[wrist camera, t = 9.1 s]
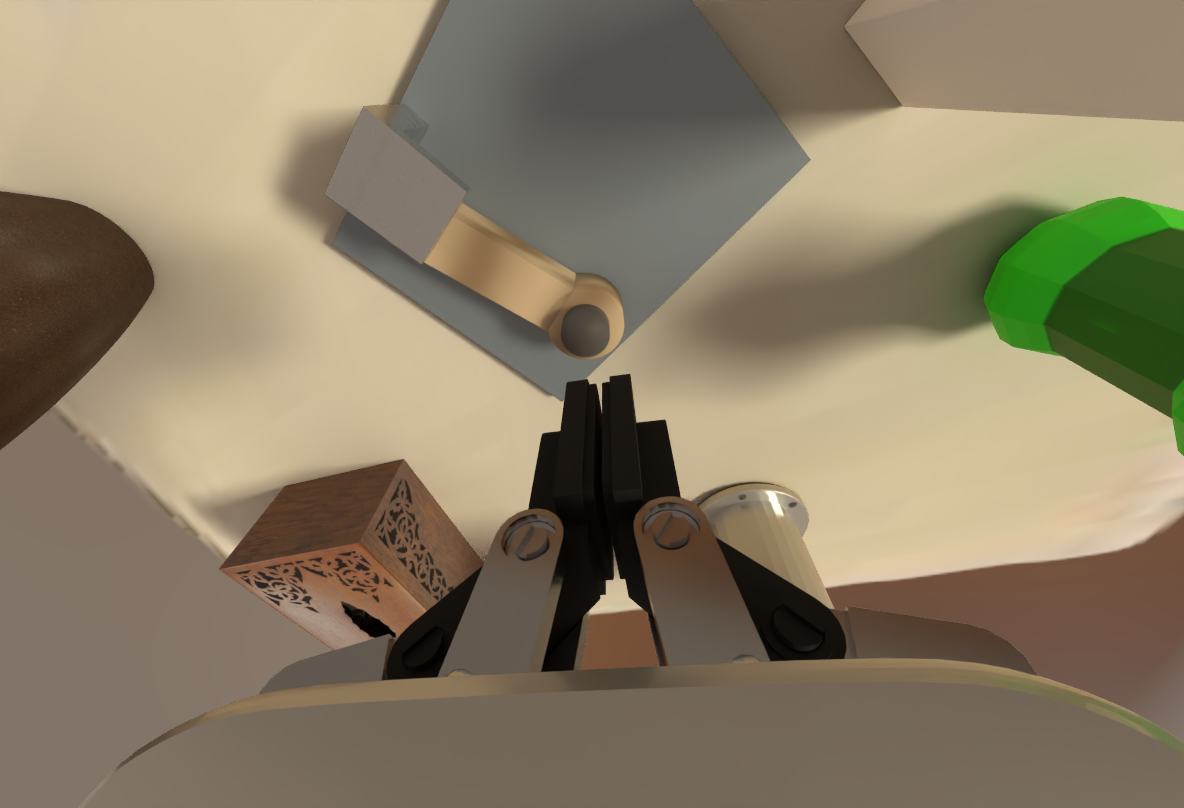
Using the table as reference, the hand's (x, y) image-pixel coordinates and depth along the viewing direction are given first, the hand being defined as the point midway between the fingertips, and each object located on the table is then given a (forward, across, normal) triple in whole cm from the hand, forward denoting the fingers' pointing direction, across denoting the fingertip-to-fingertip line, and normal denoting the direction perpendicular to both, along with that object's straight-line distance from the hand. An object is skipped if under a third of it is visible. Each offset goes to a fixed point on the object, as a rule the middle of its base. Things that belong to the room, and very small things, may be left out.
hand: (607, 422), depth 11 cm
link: (+20, +6, +2) cm, 21 cm away
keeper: (+22, +10, -5) cm, 24 cm away
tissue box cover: (+22, +28, +33) cm, 49 cm away
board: (+22, +3, -2) cm, 22 cm away
